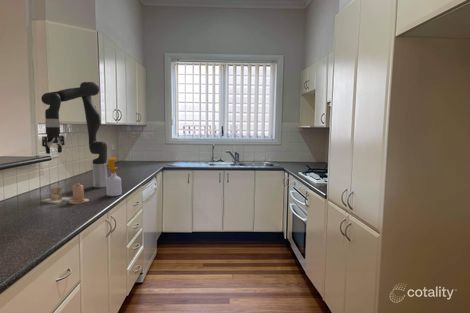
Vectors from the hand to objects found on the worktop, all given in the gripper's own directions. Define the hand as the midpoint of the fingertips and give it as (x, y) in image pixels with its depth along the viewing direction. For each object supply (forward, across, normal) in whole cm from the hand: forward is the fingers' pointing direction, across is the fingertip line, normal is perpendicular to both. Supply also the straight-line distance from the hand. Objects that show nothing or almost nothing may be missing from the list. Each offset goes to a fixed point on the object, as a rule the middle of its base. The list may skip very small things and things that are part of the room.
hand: (54, 153), depth 185 cm
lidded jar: (+28, -3, -19) cm, 34 cm away
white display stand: (+28, -5, -5) cm, 29 cm away
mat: (+28, -3, -19) cm, 34 cm away
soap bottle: (+28, +18, -28) cm, 44 cm away
